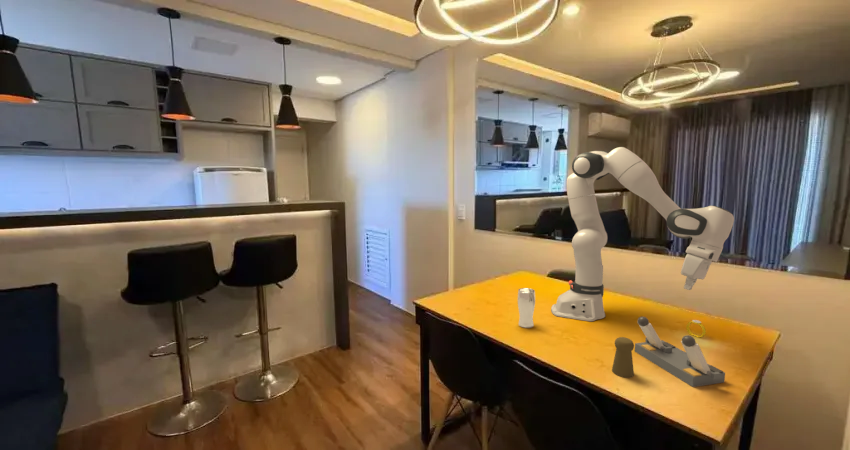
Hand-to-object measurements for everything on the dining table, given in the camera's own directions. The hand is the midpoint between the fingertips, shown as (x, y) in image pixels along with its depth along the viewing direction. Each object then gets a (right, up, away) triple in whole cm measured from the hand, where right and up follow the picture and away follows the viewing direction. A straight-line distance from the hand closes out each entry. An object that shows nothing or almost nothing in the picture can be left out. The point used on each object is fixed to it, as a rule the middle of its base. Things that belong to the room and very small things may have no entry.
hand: (687, 289), depth 124 cm
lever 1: (-13, -19, -4) cm, 23 cm away
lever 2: (-10, -21, -20) cm, 30 cm away
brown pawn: (-31, -24, -14) cm, 41 cm away
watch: (+11, -20, +10) cm, 25 cm away
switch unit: (-12, -23, -11) cm, 28 cm away
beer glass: (-50, -19, +23) cm, 59 cm away
